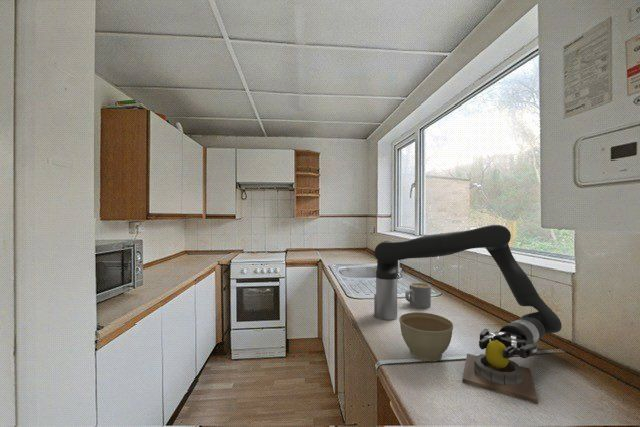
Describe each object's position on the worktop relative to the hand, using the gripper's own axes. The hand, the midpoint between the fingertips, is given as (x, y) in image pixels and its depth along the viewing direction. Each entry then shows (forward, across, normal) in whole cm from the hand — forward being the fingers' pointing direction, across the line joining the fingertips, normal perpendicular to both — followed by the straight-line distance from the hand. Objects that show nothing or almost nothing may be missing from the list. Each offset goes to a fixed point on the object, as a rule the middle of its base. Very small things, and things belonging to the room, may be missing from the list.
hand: (492, 349), depth 76 cm
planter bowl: (+4, -19, +8) cm, 21 cm away
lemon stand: (-2, 0, +8) cm, 8 cm away
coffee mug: (-36, -52, +9) cm, 63 cm away
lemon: (-3, 0, +6) cm, 7 cm away
